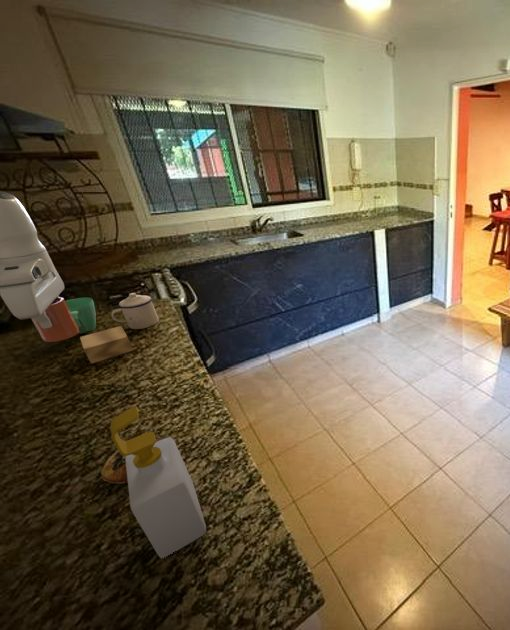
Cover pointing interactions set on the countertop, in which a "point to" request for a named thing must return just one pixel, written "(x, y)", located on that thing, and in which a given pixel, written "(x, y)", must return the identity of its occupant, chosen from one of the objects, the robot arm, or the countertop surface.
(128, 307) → the teacup with lid
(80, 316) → the mug
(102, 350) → the block
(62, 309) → the cup
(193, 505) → the soap bottle
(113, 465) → the bread roll
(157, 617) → the countertop surface
